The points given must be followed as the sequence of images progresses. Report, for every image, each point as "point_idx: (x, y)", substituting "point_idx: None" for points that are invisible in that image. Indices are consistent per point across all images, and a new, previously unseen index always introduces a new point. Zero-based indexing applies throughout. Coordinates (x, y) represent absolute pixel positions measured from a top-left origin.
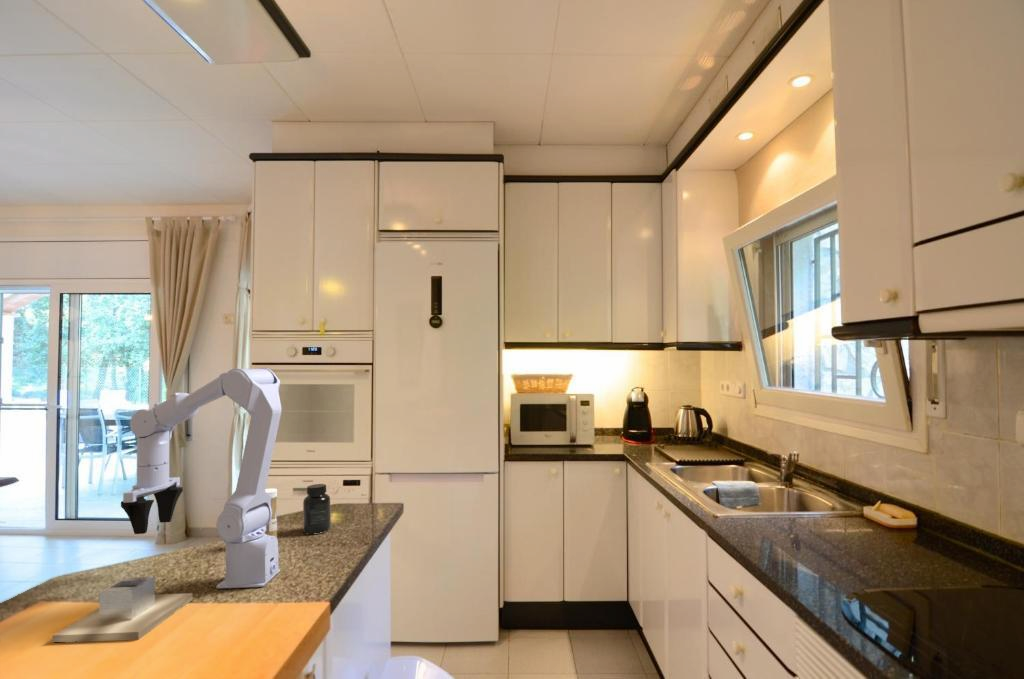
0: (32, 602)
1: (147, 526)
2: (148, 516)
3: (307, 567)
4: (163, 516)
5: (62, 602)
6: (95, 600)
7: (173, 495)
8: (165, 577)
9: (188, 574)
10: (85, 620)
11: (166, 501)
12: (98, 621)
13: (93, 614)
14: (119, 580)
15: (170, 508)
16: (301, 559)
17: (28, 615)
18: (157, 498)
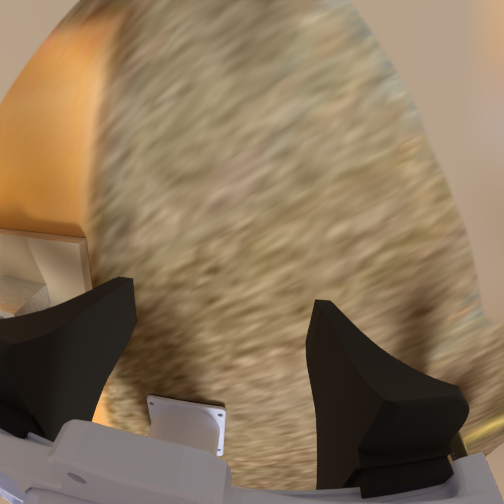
0: (117, 3)
1: (124, 344)
2: (103, 385)
3: (235, 471)
4: (315, 336)
5: (99, 82)
6: (99, 165)
7: (318, 478)
8: (228, 267)
9: (239, 317)
10: (2, 248)
11: (331, 416)
12: (4, 274)
13: (16, 246)
14: (4, 311)
15: (317, 397)
16: (276, 463)
17: (50, 66)
18: (356, 388)
